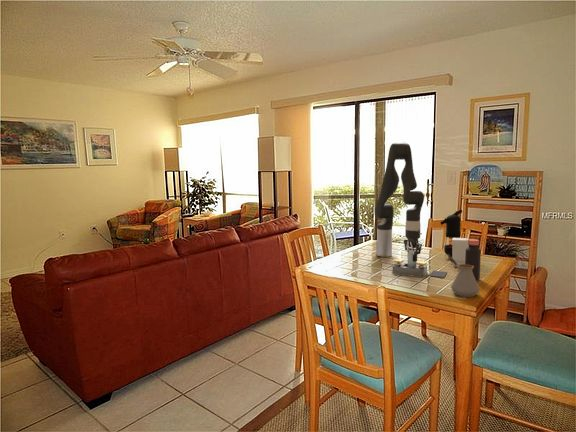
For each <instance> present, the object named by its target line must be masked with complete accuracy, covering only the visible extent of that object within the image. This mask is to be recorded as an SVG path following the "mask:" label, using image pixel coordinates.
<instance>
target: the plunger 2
mask: <svg viewBox="0 0 576 432" xmlns="http://www.w3.org/2000/svg"><path fill="white" fill-rule="evenodd" d="M416 265H420V267H421V268H424V265H428V264H427V261H424V260H417V261H416Z"/></svg>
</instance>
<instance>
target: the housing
mask: <svg viewBox="0 0 576 432" xmlns="http://www.w3.org/2000/svg"><path fill="white" fill-rule="evenodd" d="M391 267H392V269H391V271H392V273H391V274H393V275H400V276H401V275H402V276H410V277H418V278H424V277H425V276H426V275H427V273H428V264H426V265H424V268H421V267H420V265H416V266H415V268H413V267H407V262H404V261H403V262H402V263H400V265H397V263H396V262H394V264H393V265H392V266H391Z"/></svg>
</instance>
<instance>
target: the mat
mask: <svg viewBox="0 0 576 432" xmlns="http://www.w3.org/2000/svg"><path fill="white" fill-rule="evenodd" d="M447 274H448V271H442V270H432V271H431V272H430V275H429V277H431V278H432V277H433V278H441V279H445V277H446V275H447Z"/></svg>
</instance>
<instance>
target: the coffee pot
mask: <svg viewBox="0 0 576 432" xmlns="http://www.w3.org/2000/svg"><path fill="white" fill-rule="evenodd" d="M444 257H445V258H448V259H450V261H451V262H453V263H454V264H455V265H456V266H457V269H458V272H457V274H456V276H455V278H454V280H453V282H452V284H451V285H450V288H451V290H452V291H453V293H455V294H456V295H457V296H459V297H464V298H472V297H475V295H477V294H479V292H480V286H479V284H478V282H477V281H476V279H475V277H474V275H473V272H472V270H473V268H474V266H472V265H467V264H461V265H457V263H456V262H455V260H454V259H453V258H452V257H451V256H450V255H449V254H446V253H445V256H444Z"/></svg>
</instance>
